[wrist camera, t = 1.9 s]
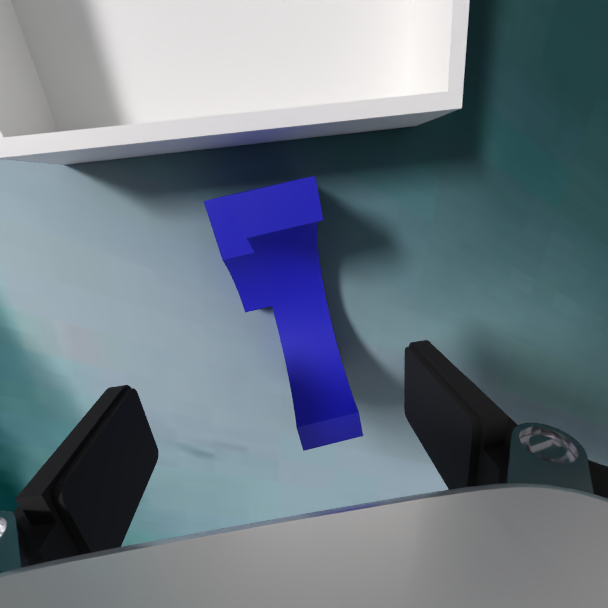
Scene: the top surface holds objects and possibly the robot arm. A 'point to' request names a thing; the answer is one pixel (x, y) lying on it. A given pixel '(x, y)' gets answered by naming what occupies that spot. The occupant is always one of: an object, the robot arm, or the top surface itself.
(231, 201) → the cable clip
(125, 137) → the tray
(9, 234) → the top surface
